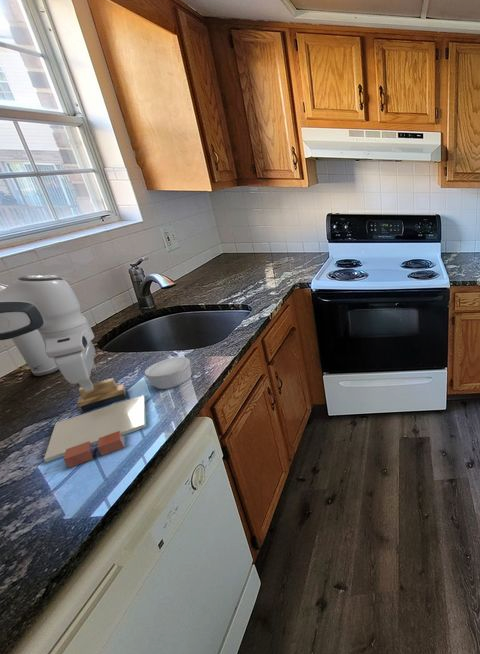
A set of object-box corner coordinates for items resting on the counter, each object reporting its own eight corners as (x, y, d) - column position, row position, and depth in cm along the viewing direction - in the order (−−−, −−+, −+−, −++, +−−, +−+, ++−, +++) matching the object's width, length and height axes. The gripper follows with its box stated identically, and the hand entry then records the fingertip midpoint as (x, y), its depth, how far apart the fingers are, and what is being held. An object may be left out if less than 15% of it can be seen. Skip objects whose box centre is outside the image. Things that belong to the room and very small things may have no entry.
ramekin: (159, 374, 114) (152, 360, 111) (199, 368, 117) (194, 353, 114) (144, 395, 104) (136, 379, 102) (188, 387, 107) (182, 371, 105)
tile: (45, 462, 81) (43, 459, 81) (57, 425, 93) (55, 422, 92) (145, 427, 91) (144, 424, 91) (145, 397, 103) (143, 394, 102)
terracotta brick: (101, 455, 83) (97, 447, 82) (103, 446, 86) (98, 437, 84) (124, 447, 85) (119, 439, 84) (124, 438, 88) (120, 430, 87)
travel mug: (41, 377, 114) (6, 320, 106) (29, 374, 116) (-6, 317, 108) (65, 367, 119) (34, 312, 111) (54, 364, 122) (23, 309, 113)
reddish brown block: (68, 468, 80) (63, 459, 79) (71, 457, 82) (66, 449, 81) (92, 459, 82) (87, 450, 81) (94, 449, 85) (89, 440, 84)
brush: (81, 412, 97) (71, 394, 95) (83, 405, 100) (73, 387, 98) (127, 398, 103) (118, 380, 100) (127, 392, 106) (119, 374, 103)
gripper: (58, 326, 98) (80, 370, 104) (44, 355, 84) (70, 404, 89) (89, 320, 102) (109, 363, 108) (81, 346, 87) (104, 394, 93)
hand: (91, 382), depth 98 cm, fingers open, 8 cm apart
